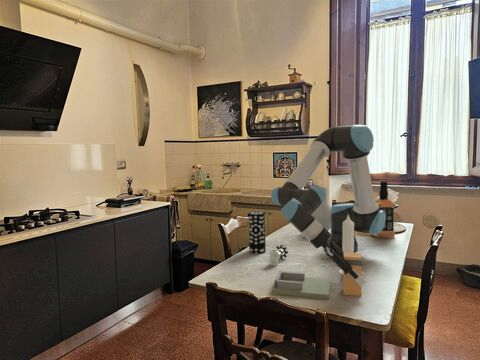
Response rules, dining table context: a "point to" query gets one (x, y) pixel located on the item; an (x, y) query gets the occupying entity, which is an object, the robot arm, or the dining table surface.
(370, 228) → the robot arm
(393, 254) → the dining table surface
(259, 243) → the white-spotted black cylinder
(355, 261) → the orange box
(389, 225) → the whiskey bottle
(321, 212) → the vase
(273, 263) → the valve
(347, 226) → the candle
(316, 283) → the mounting board
